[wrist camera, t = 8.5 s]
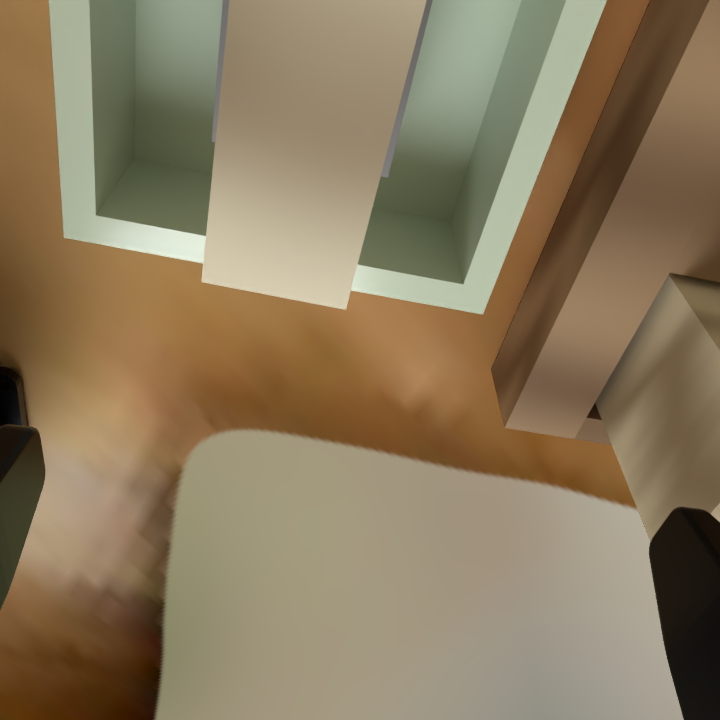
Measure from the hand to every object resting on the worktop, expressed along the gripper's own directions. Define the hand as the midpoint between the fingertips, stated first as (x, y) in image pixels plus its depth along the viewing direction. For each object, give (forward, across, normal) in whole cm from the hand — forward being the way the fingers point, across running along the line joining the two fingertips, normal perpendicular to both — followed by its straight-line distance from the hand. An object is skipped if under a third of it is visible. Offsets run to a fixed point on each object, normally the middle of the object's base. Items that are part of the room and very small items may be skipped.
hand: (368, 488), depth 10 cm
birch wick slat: (+12, +2, -3) cm, 13 cm away
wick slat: (+13, -10, +4) cm, 17 cm away
